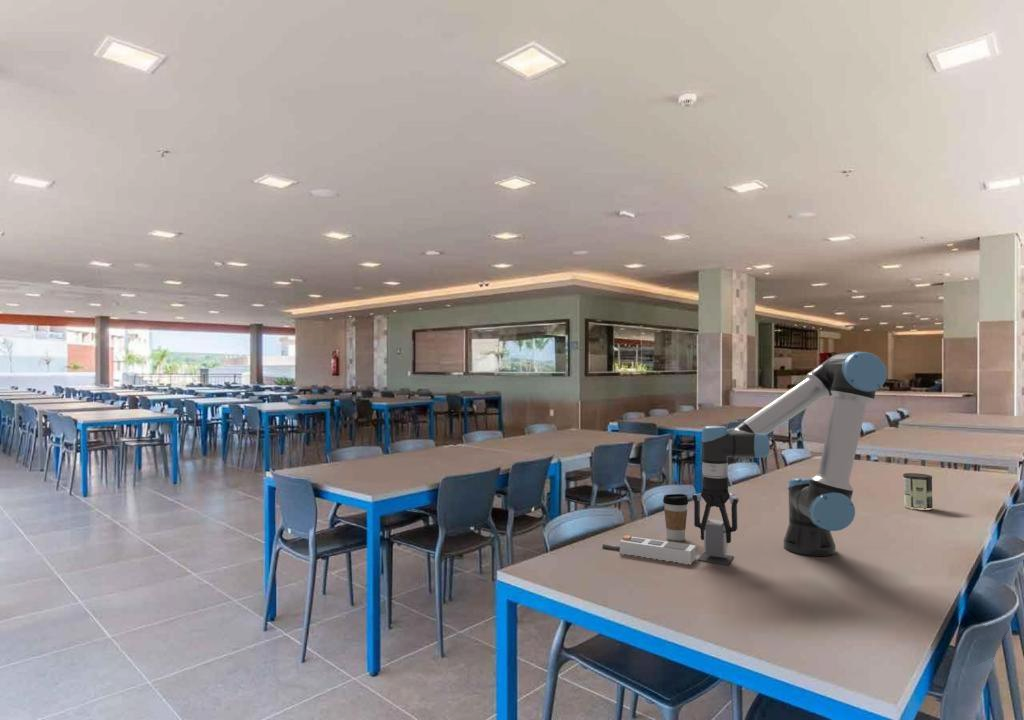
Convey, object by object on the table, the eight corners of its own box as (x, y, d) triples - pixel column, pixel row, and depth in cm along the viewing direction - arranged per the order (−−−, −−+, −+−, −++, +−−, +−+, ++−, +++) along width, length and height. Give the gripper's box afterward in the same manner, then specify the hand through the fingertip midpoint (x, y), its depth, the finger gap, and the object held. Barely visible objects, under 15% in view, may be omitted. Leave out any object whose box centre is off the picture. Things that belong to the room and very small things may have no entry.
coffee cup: (689, 542, 200) (689, 498, 200) (663, 541, 201) (663, 497, 202) (687, 535, 208) (687, 493, 208) (662, 534, 210) (662, 492, 210)
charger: (725, 553, 183) (725, 520, 183) (722, 557, 178) (722, 524, 179) (709, 550, 185) (708, 518, 185) (705, 555, 181) (705, 522, 181)
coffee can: (921, 505, 256) (921, 472, 256) (938, 511, 245) (938, 477, 246) (898, 505, 256) (897, 472, 256) (913, 511, 245) (913, 477, 246)
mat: (733, 557, 183) (733, 556, 183) (728, 565, 176) (728, 564, 176) (703, 553, 188) (703, 551, 188) (697, 560, 180) (697, 559, 180)
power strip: (695, 558, 182) (695, 542, 182) (690, 564, 176) (690, 548, 176) (606, 545, 197) (606, 530, 197) (599, 550, 190) (599, 535, 191)
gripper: (682, 475, 184) (683, 550, 183) (744, 480, 175) (745, 559, 174) (688, 472, 190) (689, 544, 189) (747, 476, 181) (748, 553, 181)
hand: (715, 551), depth 182 cm, fingers closed on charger, 5 cm apart
